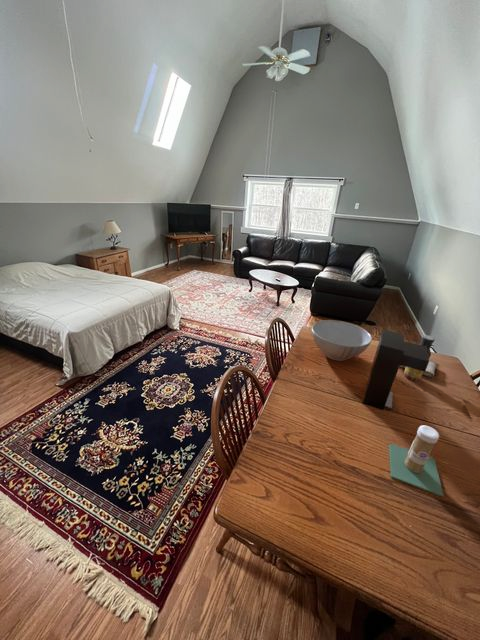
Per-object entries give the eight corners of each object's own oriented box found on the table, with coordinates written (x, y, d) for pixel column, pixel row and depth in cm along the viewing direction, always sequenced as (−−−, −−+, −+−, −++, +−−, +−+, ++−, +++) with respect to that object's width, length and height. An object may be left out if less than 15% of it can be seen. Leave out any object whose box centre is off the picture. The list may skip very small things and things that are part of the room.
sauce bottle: (401, 376, 116) (415, 336, 108) (406, 371, 120) (420, 331, 111) (417, 384, 111) (434, 342, 103) (422, 378, 115) (439, 337, 107)
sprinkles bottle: (408, 472, 74) (424, 437, 68) (401, 458, 78) (415, 423, 72) (426, 474, 73) (443, 439, 68) (417, 459, 78) (433, 425, 72)
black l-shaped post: (406, 396, 104) (428, 339, 94) (407, 419, 93) (431, 358, 82) (366, 383, 110) (382, 329, 100) (362, 403, 99) (380, 345, 89)
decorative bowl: (360, 377, 114) (367, 353, 109) (300, 357, 126) (304, 334, 121) (369, 350, 135) (375, 329, 130) (317, 335, 147) (320, 315, 142)
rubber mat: (434, 459, 78) (434, 458, 78) (443, 497, 68) (443, 495, 68) (388, 444, 83) (389, 443, 83) (391, 477, 73) (391, 476, 73)
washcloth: (393, 353, 134) (395, 347, 132) (435, 367, 124) (438, 361, 122) (387, 362, 125) (389, 357, 124) (432, 379, 115) (435, 373, 114)
